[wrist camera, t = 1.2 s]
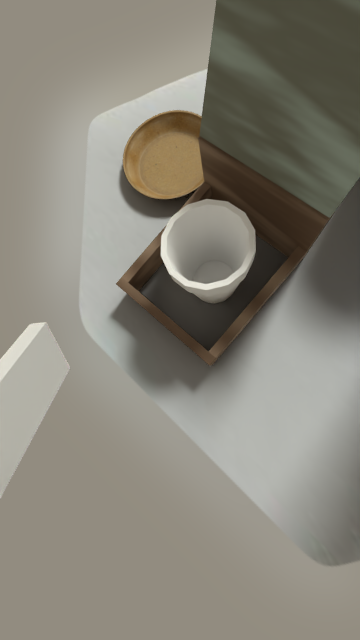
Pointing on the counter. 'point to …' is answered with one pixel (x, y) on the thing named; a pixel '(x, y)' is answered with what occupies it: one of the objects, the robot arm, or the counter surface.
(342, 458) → the counter surface
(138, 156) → the plant saucer
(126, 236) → the counter surface
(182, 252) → the foam cup
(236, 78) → the cold frame
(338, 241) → the counter surface
